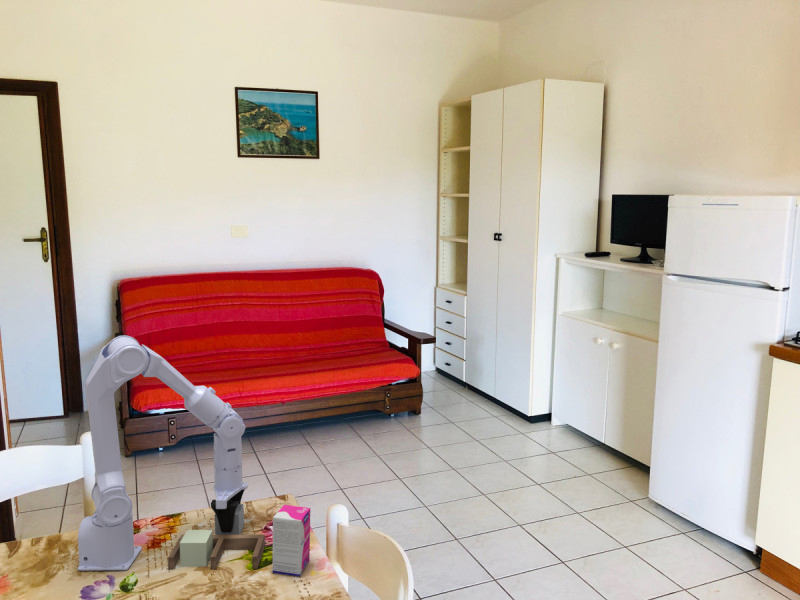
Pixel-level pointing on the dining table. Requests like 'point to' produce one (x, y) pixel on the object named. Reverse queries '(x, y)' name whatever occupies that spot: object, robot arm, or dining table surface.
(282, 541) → the supplement box
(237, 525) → the slate block
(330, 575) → the dining table surface
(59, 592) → the dining table surface
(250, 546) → the comb rack
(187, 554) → the sage block
